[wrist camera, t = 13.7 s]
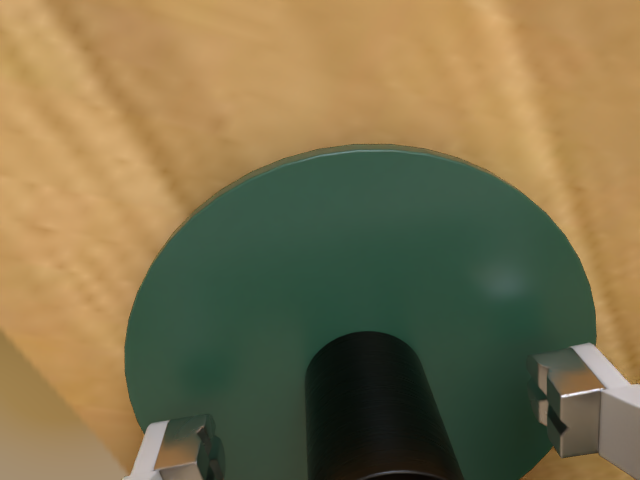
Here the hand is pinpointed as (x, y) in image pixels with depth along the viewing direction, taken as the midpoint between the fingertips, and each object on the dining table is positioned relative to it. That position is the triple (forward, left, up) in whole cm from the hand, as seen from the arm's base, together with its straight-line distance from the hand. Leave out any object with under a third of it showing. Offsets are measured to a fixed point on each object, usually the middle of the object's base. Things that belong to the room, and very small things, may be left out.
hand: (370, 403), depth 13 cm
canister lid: (0, 0, -2) cm, 2 cm away
